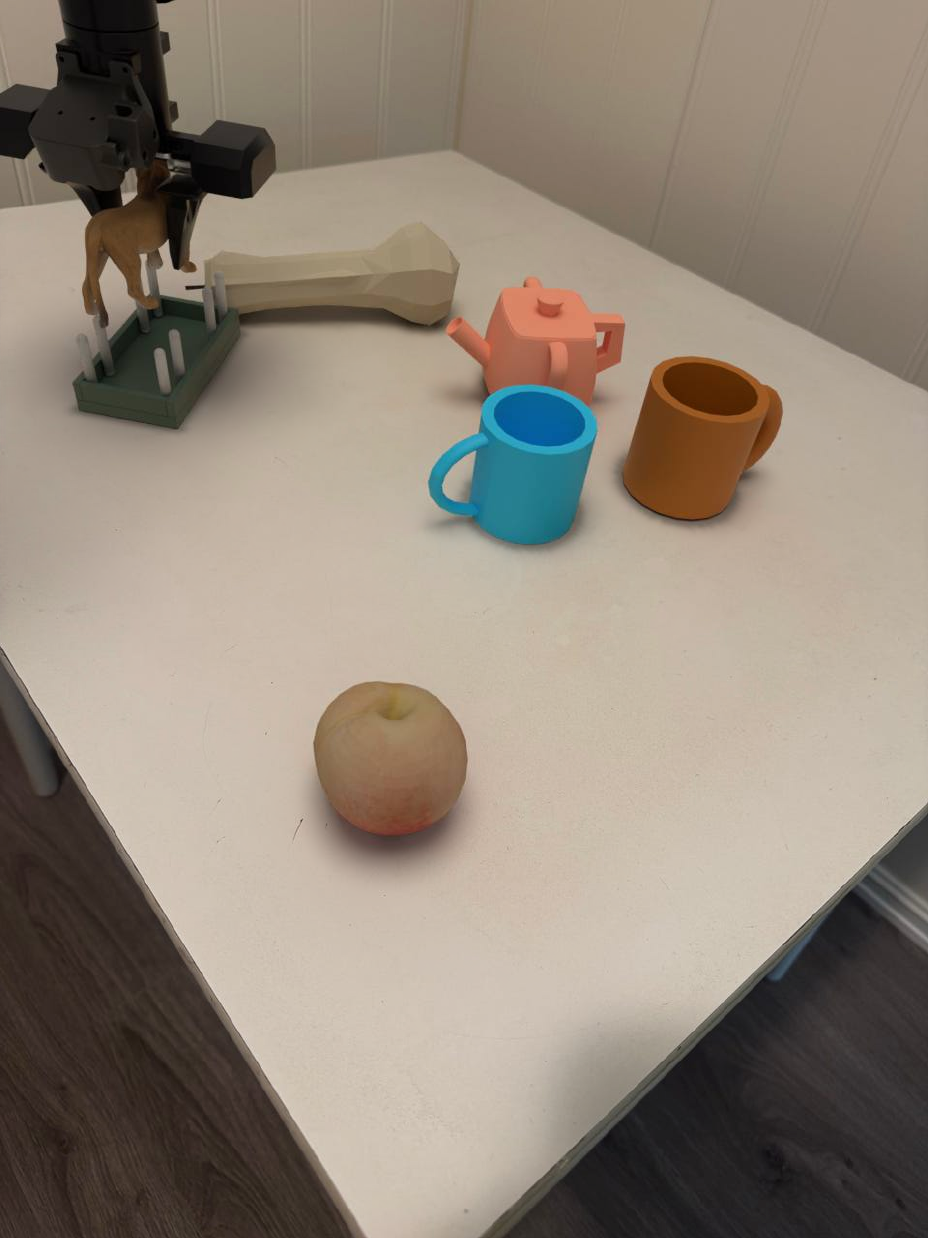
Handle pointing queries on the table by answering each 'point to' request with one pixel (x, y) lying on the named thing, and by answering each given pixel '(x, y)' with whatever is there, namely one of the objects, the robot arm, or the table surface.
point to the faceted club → (346, 277)
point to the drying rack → (157, 357)
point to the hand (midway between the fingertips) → (149, 262)
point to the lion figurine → (128, 241)
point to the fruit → (390, 757)
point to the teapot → (543, 341)
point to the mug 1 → (523, 464)
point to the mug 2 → (698, 435)
